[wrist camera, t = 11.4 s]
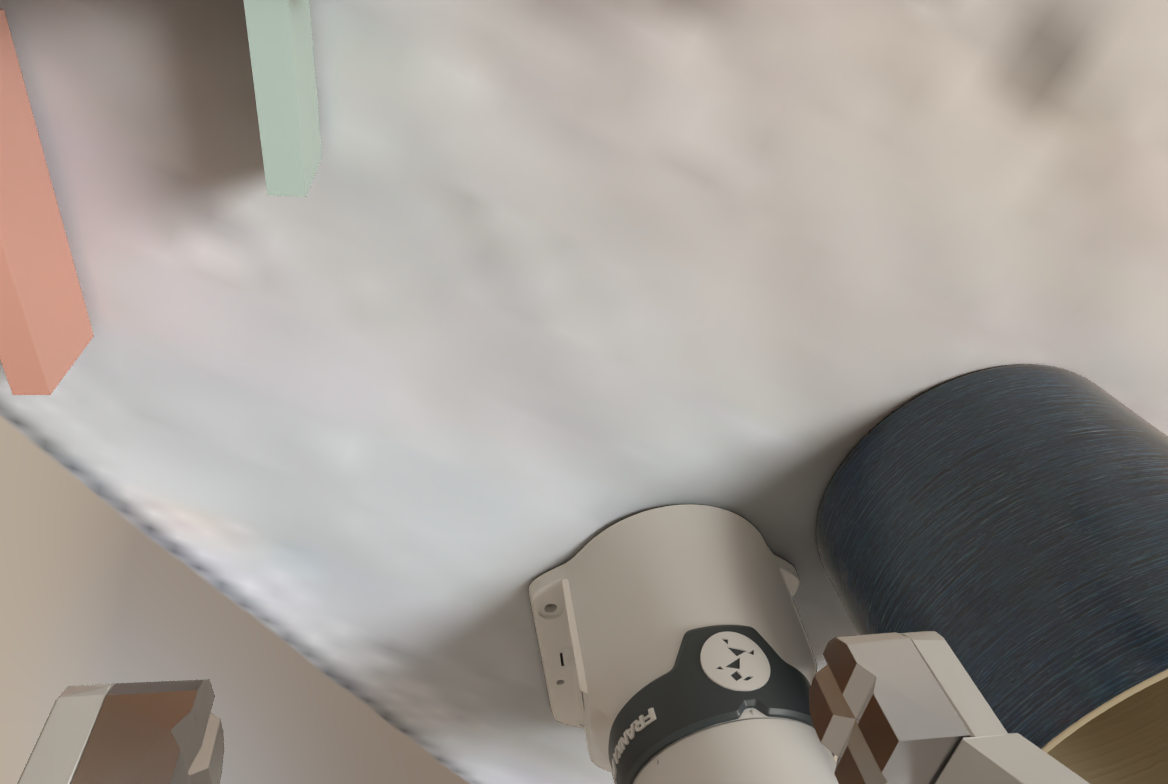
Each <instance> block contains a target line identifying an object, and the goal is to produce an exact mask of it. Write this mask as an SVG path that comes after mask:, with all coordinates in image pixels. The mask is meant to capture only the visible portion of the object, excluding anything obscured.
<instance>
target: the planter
mask: <svg viewBox="0 0 1168 784" xmlns="http://www.w3.org/2000/svg"><path fill="white" fill-rule="evenodd" d="M816 538H817V547H818V552H819V555H820V558H821V561H822V564H823V566H824V568H825V570H826V572H827V574H828V576H829V578H830V580H831V582H832V584H833V586H834V587H835V589H836V591H837V593H838V595H839V597H840V599H841V601H842V603H843V605H844V607H845V609H846V611H847V613H848V615H849V617H850V619H851V621H852V623H853V625H854V627H855V629H856V631H857V633H858V635H869V634H882V633H894V632H897V633H909V632H921V631H935V632H937V633H938V634H939V635H941V636H942V637H943V638H944V639H945V640H946V642H947V643H948V645H949V646H950V648H951V649H952V651H953V652H954V654H955V655H956V657H957V658H958V660H959V661H960V663H961V664H962V666H963V667H964V669H965V670H966V672H967V673H968V675H969V676H970V678H971V679H972V681H973V682H974V684H975V685H976V687H977V688H978V690H979V691H980V693H981V694H982V696H983V697H984V698H985V700H986V701H987V703H988V704H989V706H990V707H991V709H992V710H993V712H994V713H995V715H996V716H997V718H998V719H999V721H1000V722H1001V724H1002V725H1003V727H1004V728H1005V730H1006V731H1007V733H1019V734H1020V735H1021V736H1023V737H1024V738H1026V739H1027V740H1029V741H1030V742H1031V743H1033V744H1034V745H1036V746H1037V747H1039V748H1040V749H1041V750H1043V751H1044V752H1046V753H1047V754H1049V755H1050V756H1051V757H1053V758H1054V759H1056V760H1057V761H1059V762H1060V763H1061V764H1063V765H1064V766H1066V767H1067V768H1069V769H1070V770H1071V771H1073V772H1074V773H1076V774H1077V775H1079V776H1080V777H1081V778H1083V779H1084V780H1086V781H1087V782H1089V783H1090V784H1168V436H1167V435H1165V434H1164V433H1163V432H1161V431H1160V430H1158V429H1157V428H1156V427H1154V426H1153V425H1151V424H1150V423H1149V422H1147V421H1146V420H1144V419H1143V418H1142V417H1140V416H1139V415H1137V414H1136V413H1135V412H1133V411H1132V410H1130V409H1129V408H1128V407H1126V406H1125V405H1123V404H1122V403H1121V402H1119V401H1118V400H1117V399H1115V398H1114V397H1113V396H1111V395H1110V394H1109V393H1107V392H1106V391H1104V390H1103V389H1102V388H1100V387H1099V386H1098V385H1096V384H1095V383H1093V382H1091V381H1090V380H1088V379H1087V378H1085V377H1083V376H1081V375H1078V374H1076V373H1074V372H1071V371H1068V370H1065V369H1061V368H1057V367H1052V366H1045V365H1033V364H1028V365H1010V366H1002V367H996V368H991V369H986V370H982V371H978V372H974V373H971V374H967V375H965V376H962V377H959V378H956V379H953V380H951V381H949V382H946V383H944V384H941V385H939V386H937V387H935V388H933V389H931V390H929V391H927V392H925V393H923V394H921V395H920V396H918V397H916V398H914V399H913V400H911V401H910V402H908V403H906V404H905V405H903V406H902V407H900V408H899V409H897V410H896V411H895V412H893V413H892V414H890V415H889V416H888V417H887V418H885V419H884V420H883V421H882V422H880V423H879V424H878V425H877V426H876V427H875V428H873V429H872V430H871V431H870V432H869V433H868V434H867V435H866V436H865V437H864V438H863V439H862V440H861V441H860V442H859V443H858V444H857V445H856V447H855V448H854V449H853V450H852V451H851V452H850V454H849V455H848V456H847V457H846V459H845V460H844V461H843V463H842V464H841V466H840V467H839V468H838V470H837V472H836V473H835V475H834V477H833V478H832V480H831V482H830V484H829V486H828V488H827V490H826V492H825V495H824V497H823V500H822V503H821V506H820V510H819V514H818V519H817V527H816Z"/></svg>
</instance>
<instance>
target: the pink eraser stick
mask: <svg viewBox="0 0 1168 784" xmlns="http://www.w3.org/2000/svg"><path fill="white" fill-rule="evenodd" d="M93 337H94V335H93V332H92V328H91V324H90V321H89V317H88V313H87V310H86V306H85V302H84V299H83V295H82V291H81V288H80V284H79V281H78V277H77V273H76V270H75V266H74V262H73V259H72V255H71V251H70V248H69V244H68V241H67V237H66V233H65V230H64V226H63V222H62V219H61V215H60V211H59V208H58V204H57V200H56V197H55V193H54V190H53V186H52V182H51V179H50V175H49V171H48V168H47V164H46V160H45V157H44V153H43V150H42V146H41V142H40V139H39V135H38V131H37V128H36V124H35V120H34V117H33V113H32V110H31V106H30V102H29V99H28V95H27V91H26V88H25V84H24V80H23V77H22V73H21V69H20V66H19V62H18V59H17V55H16V51H15V48H14V44H13V40H12V37H11V33H10V29H9V26H8V22H7V19H6V15H5V11H4V9H0V360H1V363H2V366H3V368H4V371H5V374H6V377H7V380H8V382H9V385H10V388H11V391H12V394H13V395H51V393H52V392H53V391H54V389H55V388H56V387H57V385H58V384H59V382H60V381H61V380H62V378H63V377H64V376H65V374H66V373H67V372H68V370H69V369H70V368H71V366H72V365H73V364H74V362H75V361H76V360H77V358H78V357H79V355H80V354H81V353H82V351H83V350H84V349H85V347H86V346H87V345H88V343H89V342H90V341H91V339H92V338H93Z"/></svg>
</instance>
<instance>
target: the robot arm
mask: <svg viewBox="0 0 1168 784" xmlns="http://www.w3.org/2000/svg"><path fill="white" fill-rule="evenodd" d="M799 585H800V580H799V577H798V574H797V571H796V569H795V568H794V566H792V565H791V564H790V563H788V562H787V561H785V560H783V559H782V558H780V557H778V556H776V555H774V554H773V553H772V552H771V551H770V549H769V548H768V546H767V544H766V543H765V541H764V539H763V537H762V536H761V534H760V533H759V531H758V530H757V529H756V528H755V527H754V526H753V525H752V524H751V523H749V522H748V521H747V520H745V519H744V518H742V517H741V516H739V515H737V514H735V513H732V512H730V511H727V510H724V509H721V508H717V507H712V506H706V505H673V506H665V507H660V508H655V509H651V510H648V511H644V512H641V513H638V514H635V515H633V516H630V517H628V518H626V519H624V520H621V521H619V522H617V523H616V524H614V525H612V526H610V527H609V528H607V529H605V530H604V531H603V532H601V533H600V534H598V535H597V536H596V537H594V538H593V539H592V540H591V541H590V542H589V543H588V544H587V545H586V546H585V547H584V548H582V549H581V550H580V551H579V552H578V553H577V554H576V555H575V556H574V557H573V558H572V559H571V560H569V561H568V562H567V563H565V564H563V565H561V566H559V567H556V568H554V569H552V570H550V571H548V572H546V573H544V574H543V575H541V576H539V577H538V578H536V579H535V580H534V581H533V582H532V583H531V584H530V586H529V596H530V601H531V607H532V612H533V617H534V622H535V627H536V633H537V638H538V643H539V648H540V653H541V659H542V664H543V669H544V674H545V679H546V685H547V690H548V695H549V700H550V705H551V709H552V713H553V716H554V718H555V719H556V720H557V721H559V722H561V723H564V724H567V725H571V726H575V727H581V728H585V734H586V740H587V745H588V750H589V755H590V759H591V761H592V762H593V763H594V764H595V765H597V766H598V767H600V768H602V769H604V770H607V771H609V772H612V776H613V780H614V783H615V784H1090V783H1089V782H1087V781H1086V780H1084V779H1083V778H1081V777H1080V776H1079V775H1077V774H1076V773H1074V772H1073V771H1071V770H1070V769H1069V768H1067V767H1066V766H1064V765H1063V764H1061V763H1060V762H1059V761H1057V760H1056V759H1054V758H1053V757H1051V756H1050V755H1049V754H1047V753H1046V752H1044V751H1043V750H1041V749H1040V748H1039V747H1037V746H1036V745H1034V744H1033V743H1031V742H1030V741H1029V740H1027V739H1026V738H1024V737H1023V736H1021V735H1020V734H1019V733H1007V731H1006V730H1005V728H1004V727H1003V725H1002V724H1001V722H1000V721H999V719H998V718H997V716H996V715H995V713H994V712H993V710H992V709H991V707H990V706H989V704H988V703H987V701H986V700H985V698H984V697H983V696H982V694H981V693H980V691H979V690H978V688H977V687H976V685H975V684H974V682H973V681H972V679H971V678H970V676H969V675H968V673H967V672H966V670H965V669H964V667H963V666H962V664H961V663H960V661H959V660H958V658H957V657H956V655H955V654H954V652H953V651H952V649H951V648H950V646H949V645H948V643H947V642H946V640H945V639H944V638H943V637H942V636H941V635H939V634H938V633H937V632H935V631H921V632H909V633H897V632H894V633H882V634H869V635H857V636H845V637H835V638H834V639H832V640H831V641H829V642H828V644H827V646H826V649H825V651H824V653H823V655H824V657H825V659H826V662H827V664H828V665H826V666H825V667H824V668H823V669H821V670H820V671H819V672H817V663H816V659H815V657H814V654H813V651H812V648H811V646H810V643H809V640H808V638H807V635H806V632H805V630H804V627H803V624H802V622H801V619H800V617H799V614H798V611H797V609H796V606H795V604H794V601H793V596H794V595H795V593H796V591H797V590H798V588H799ZM813 677H814V678H813ZM811 682H812V683H811ZM810 684H811V685H810ZM214 697H215V695H214V692H213V689H212V685H211V682H210V679H204V680H183V681H161V682H160V681H159V682H139V683H138V682H137V683H111V684H95V685H78V686H68V687H67V688H66V689H65V691H64V692H63V693H62V694H61V695H60V696H59V697H58V699H57V700H56V701H55V703H54V706H53V708H52V710H51V712H50V714H49V717H48V718H47V721H46V723H45V725H44V727H43V729H42V732H41V734H40V736H39V738H38V740H37V742H36V745H35V747H34V749H33V751H32V753H31V755H30V757H29V759H28V762H27V764H26V766H25V768H24V770H23V772H22V775H21V777H20V779H19V781H18V783H17V784H219V783H220V779H221V774H222V764H223V754H224V737H223V728H222V724H221V719H220V718H218V717H217V716H215V715H214V714H212V713H211V709H212V705H213V701H214ZM835 755H836V756H837V757H838V758H837V763H836V761H835V759H834V756H835Z"/></svg>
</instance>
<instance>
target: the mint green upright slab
mask: <svg viewBox="0 0 1168 784" xmlns="http://www.w3.org/2000/svg"><path fill="white" fill-rule="evenodd" d="M243 1H244V9H245V17H246V25H247V33H248V42H249V50H250V58H251V66H252V74H253V83H254V91H255V99H256V107H257V115H258V123H259V132H260V140H261V148H262V156H263V164H264V172H265V181H266V189H267V195H273V196H296V197H306V196H307V193H308V191H309V189H310V186H311V184H312V181H313V179H314V176H315V174H316V171H317V169H318V166H319V164H320V161H321V159H322V151H321V138H320V126H319V113H318V101H317V89H316V76H315V64H314V52H313V39H312V27H311V14H310V2H309V0H243Z"/></svg>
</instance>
